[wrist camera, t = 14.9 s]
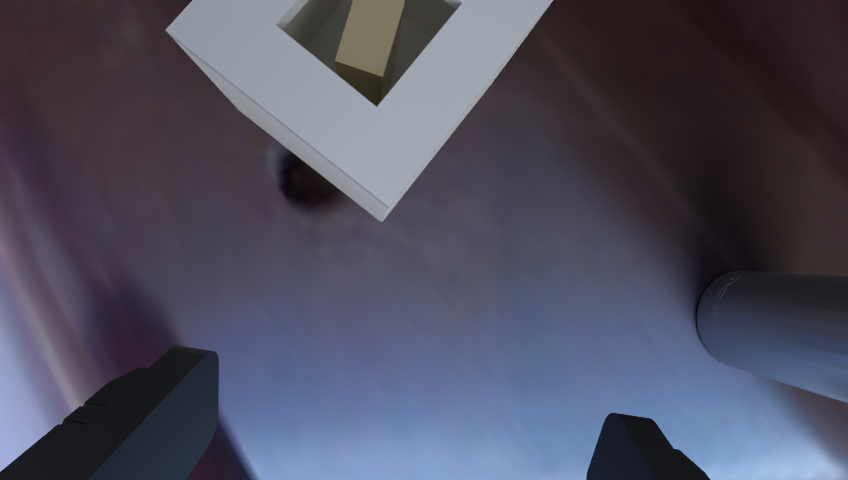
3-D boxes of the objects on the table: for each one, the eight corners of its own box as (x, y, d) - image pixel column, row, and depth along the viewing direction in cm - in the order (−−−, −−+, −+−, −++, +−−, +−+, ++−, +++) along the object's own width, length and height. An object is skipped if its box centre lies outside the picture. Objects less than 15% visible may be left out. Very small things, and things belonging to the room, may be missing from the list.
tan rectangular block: (395, 69, 36) (405, 1, 26) (378, 125, 36) (382, 76, 26) (360, 58, 36) (358, -16, 26) (344, 114, 35) (334, 60, 26)
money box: (491, 83, 38) (554, -2, 25) (381, 222, 37) (388, 206, 24) (359, -29, 37) (354, -178, 24) (239, 110, 35) (165, 30, 22)
